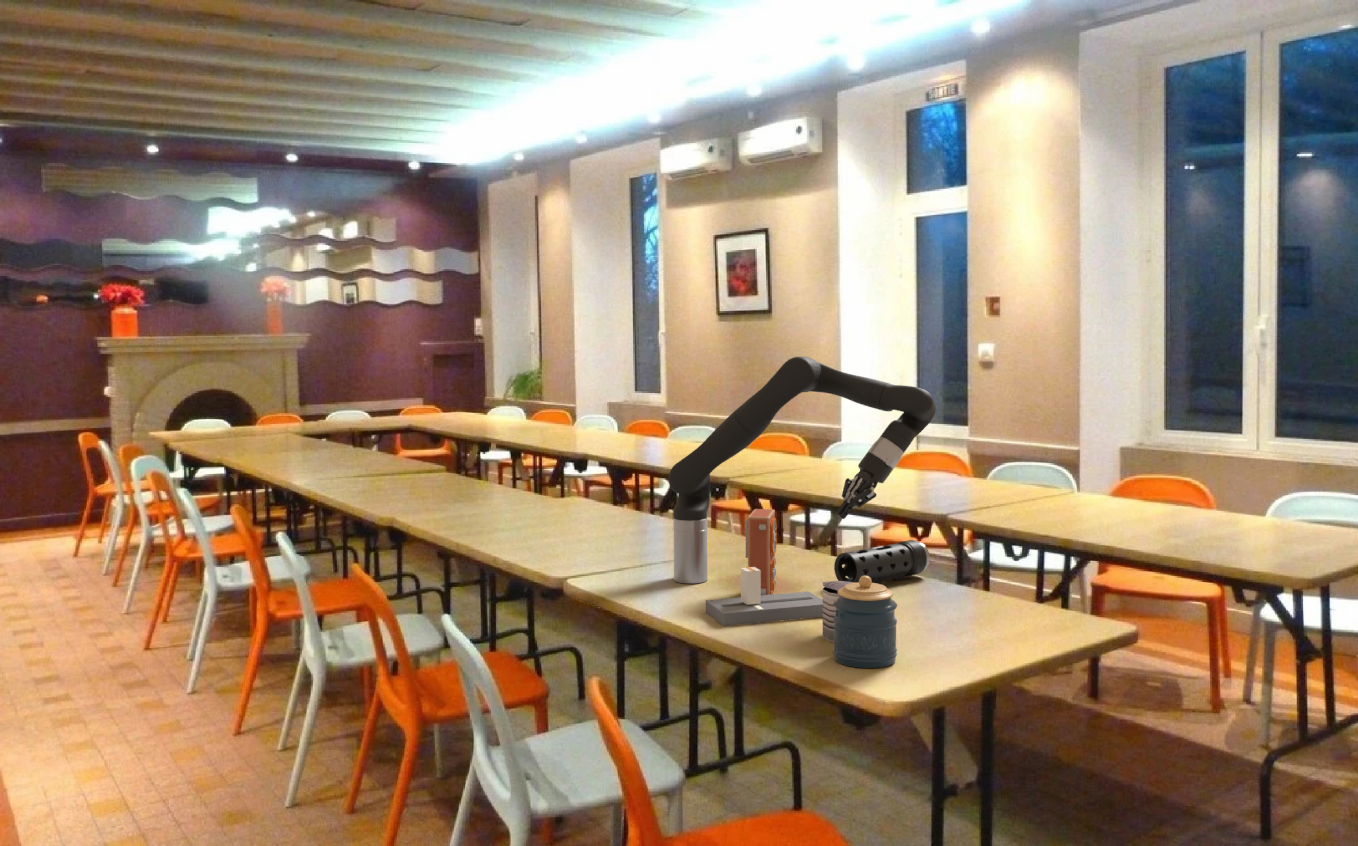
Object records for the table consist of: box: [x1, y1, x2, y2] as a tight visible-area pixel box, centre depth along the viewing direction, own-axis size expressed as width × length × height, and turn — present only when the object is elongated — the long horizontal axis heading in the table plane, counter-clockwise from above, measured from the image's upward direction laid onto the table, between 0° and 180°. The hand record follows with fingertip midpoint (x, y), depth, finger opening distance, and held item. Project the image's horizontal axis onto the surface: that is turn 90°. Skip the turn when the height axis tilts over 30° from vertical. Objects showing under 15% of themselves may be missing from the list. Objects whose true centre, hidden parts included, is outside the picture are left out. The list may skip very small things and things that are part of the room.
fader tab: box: [740, 566, 761, 605], centre depth 259 cm, size 4×4×8 cm
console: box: [705, 591, 823, 627], centre depth 261 cm, size 13×27×3 cm, turn 107°
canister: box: [832, 576, 898, 669], centre depth 224 cm, size 13×13×18 cm
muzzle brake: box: [833, 539, 931, 585], centre depth 292 cm, size 10×28×10 cm, turn 126°
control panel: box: [744, 508, 778, 595], centre depth 279 cm, size 21×7×15 cm
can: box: [822, 580, 855, 643], centre depth 240 cm, size 11×11×12 cm
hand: (839, 516), depth 266 cm, fingers closed
